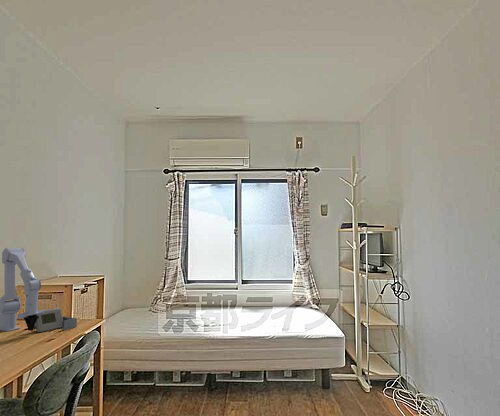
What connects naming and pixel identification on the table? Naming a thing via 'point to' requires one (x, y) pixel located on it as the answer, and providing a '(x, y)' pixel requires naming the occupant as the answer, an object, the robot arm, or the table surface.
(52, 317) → the digital clock
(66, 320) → the end cap
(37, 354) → the table surface
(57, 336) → the table surface
